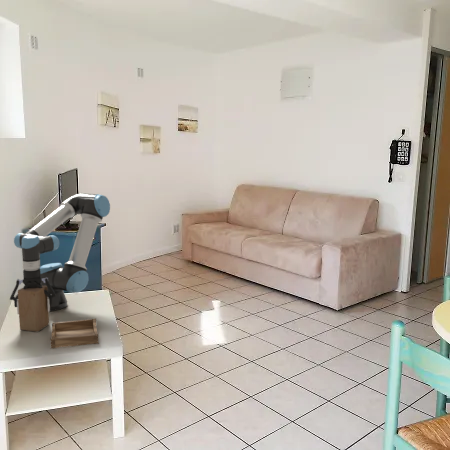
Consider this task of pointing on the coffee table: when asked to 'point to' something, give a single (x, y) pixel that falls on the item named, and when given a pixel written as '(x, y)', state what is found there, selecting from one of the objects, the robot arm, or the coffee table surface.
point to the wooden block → (33, 308)
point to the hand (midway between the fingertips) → (33, 312)
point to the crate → (74, 333)
